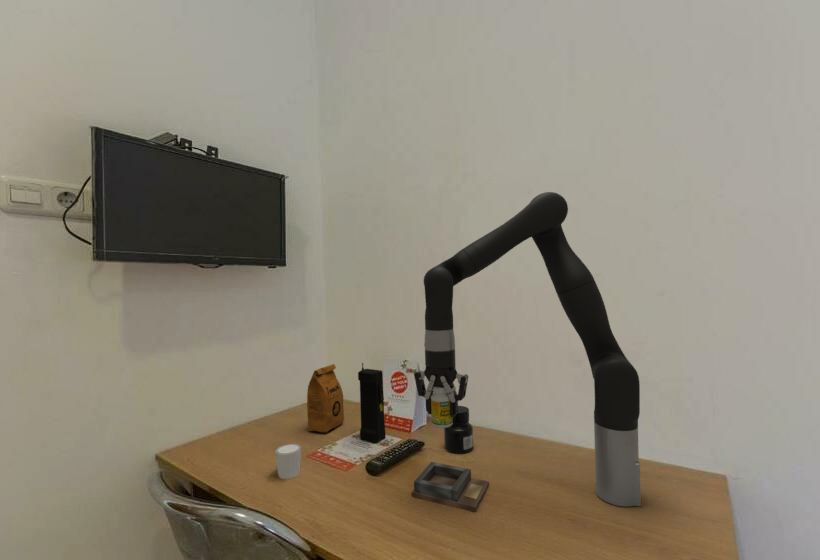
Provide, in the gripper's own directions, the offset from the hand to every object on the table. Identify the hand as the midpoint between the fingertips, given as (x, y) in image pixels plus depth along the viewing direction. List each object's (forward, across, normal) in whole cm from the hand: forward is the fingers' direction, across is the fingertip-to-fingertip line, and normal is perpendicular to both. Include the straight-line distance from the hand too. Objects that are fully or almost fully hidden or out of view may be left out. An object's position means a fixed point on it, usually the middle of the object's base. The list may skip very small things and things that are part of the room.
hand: (441, 414), depth 98 cm
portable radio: (+19, +32, -20) cm, 42 cm away
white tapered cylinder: (+19, +42, +9) cm, 47 cm away
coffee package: (+19, +53, -22) cm, 60 cm away
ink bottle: (+19, +4, -24) cm, 31 cm away
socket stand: (+19, -2, 0) cm, 19 cm away
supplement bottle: (+3, 0, 0) cm, 3 cm away
